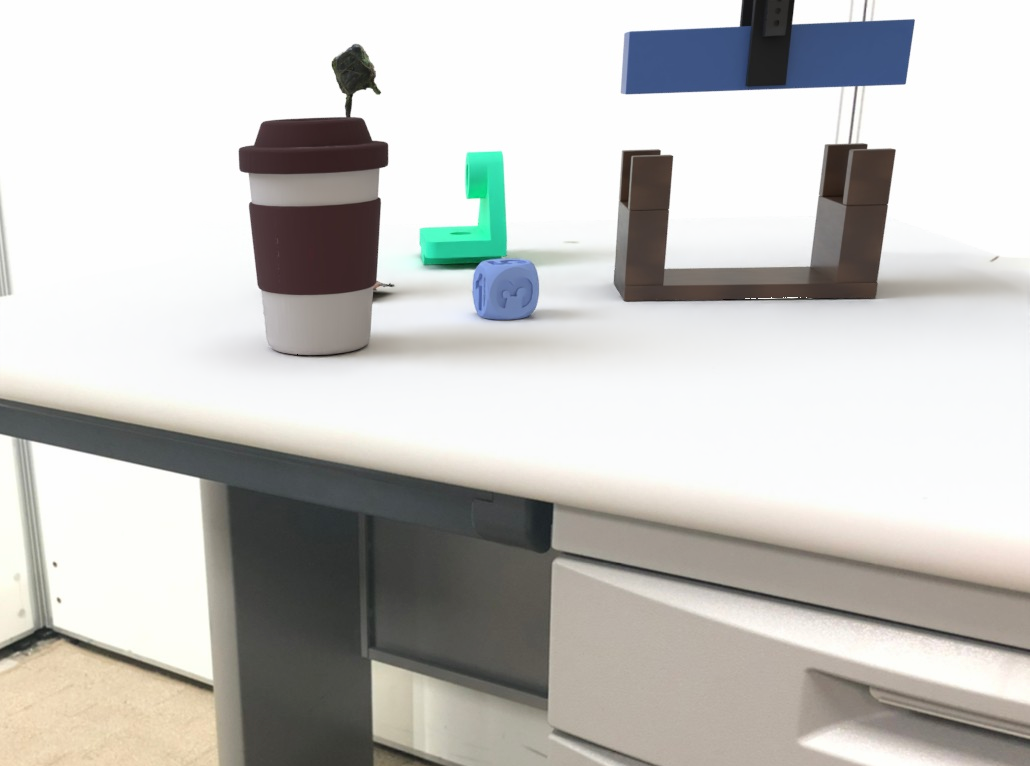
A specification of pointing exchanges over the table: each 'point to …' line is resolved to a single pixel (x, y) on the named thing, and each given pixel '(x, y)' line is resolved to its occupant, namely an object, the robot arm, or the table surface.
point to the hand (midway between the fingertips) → (759, 84)
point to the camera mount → (491, 231)
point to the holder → (832, 273)
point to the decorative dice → (505, 288)
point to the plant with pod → (355, 83)
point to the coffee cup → (315, 230)
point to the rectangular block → (724, 54)
